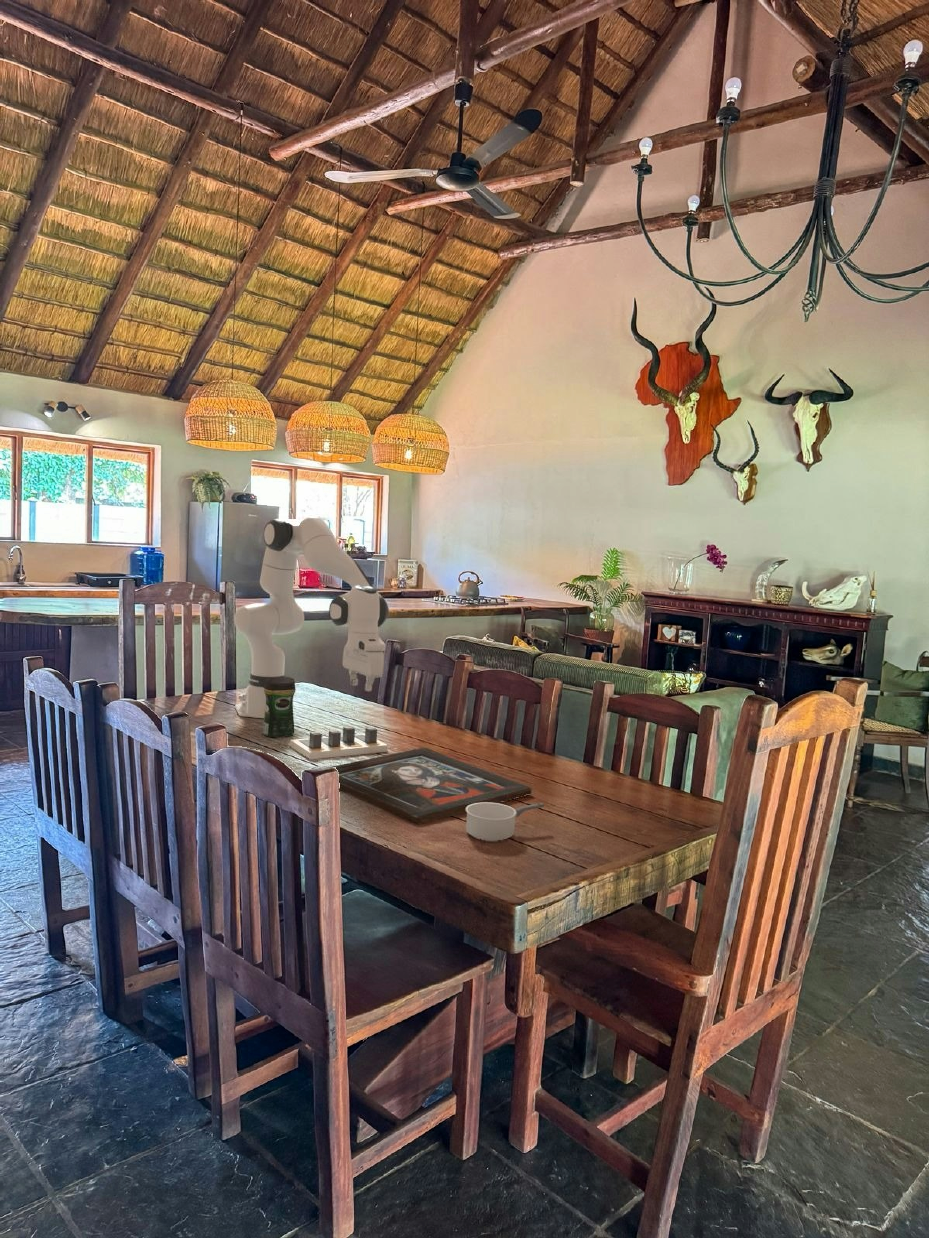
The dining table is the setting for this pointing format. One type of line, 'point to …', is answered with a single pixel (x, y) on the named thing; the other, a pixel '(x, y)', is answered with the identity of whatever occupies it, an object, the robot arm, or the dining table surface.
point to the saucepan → (493, 820)
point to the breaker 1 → (315, 739)
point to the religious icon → (424, 784)
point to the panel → (338, 747)
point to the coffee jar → (279, 707)
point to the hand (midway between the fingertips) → (360, 687)
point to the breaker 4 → (371, 735)
